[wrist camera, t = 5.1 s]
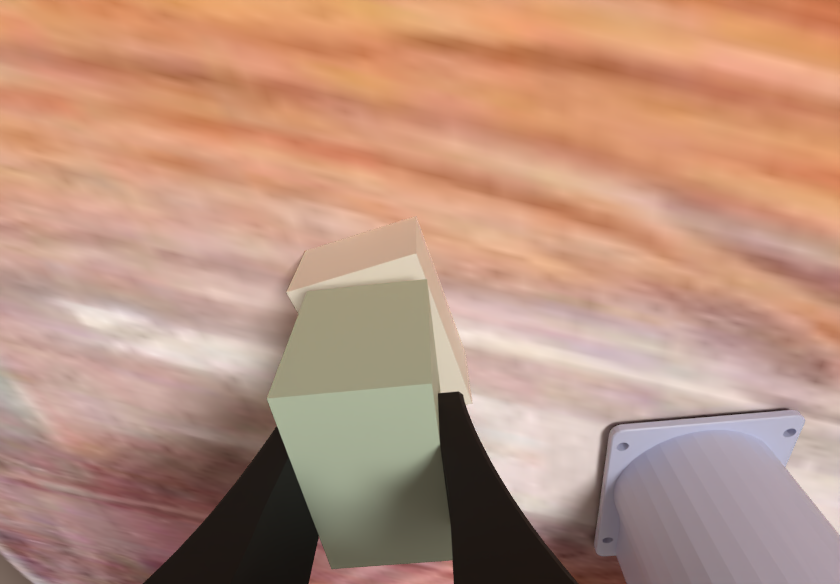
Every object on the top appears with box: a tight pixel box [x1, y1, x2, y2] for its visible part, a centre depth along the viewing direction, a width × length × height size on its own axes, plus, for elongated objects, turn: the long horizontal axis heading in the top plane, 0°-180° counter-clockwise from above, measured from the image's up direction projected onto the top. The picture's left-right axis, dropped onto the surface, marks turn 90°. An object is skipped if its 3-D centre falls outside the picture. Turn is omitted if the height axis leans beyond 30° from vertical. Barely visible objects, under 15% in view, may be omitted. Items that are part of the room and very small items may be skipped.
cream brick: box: [286, 216, 472, 405], centre depth 16 cm, size 6×4×3 cm, turn 18°
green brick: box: [267, 279, 453, 569], centre depth 12 cm, size 6×3×4 cm, turn 7°
